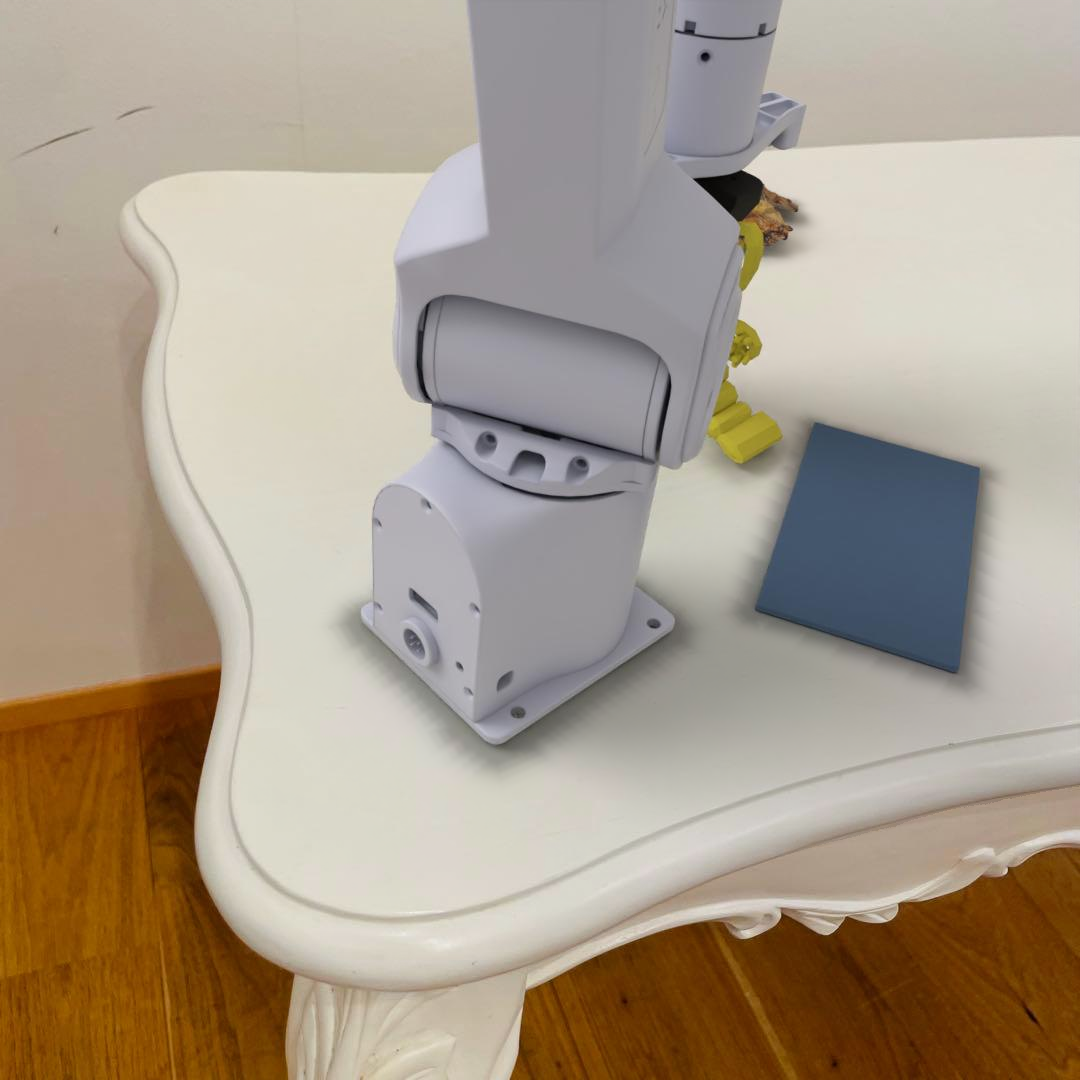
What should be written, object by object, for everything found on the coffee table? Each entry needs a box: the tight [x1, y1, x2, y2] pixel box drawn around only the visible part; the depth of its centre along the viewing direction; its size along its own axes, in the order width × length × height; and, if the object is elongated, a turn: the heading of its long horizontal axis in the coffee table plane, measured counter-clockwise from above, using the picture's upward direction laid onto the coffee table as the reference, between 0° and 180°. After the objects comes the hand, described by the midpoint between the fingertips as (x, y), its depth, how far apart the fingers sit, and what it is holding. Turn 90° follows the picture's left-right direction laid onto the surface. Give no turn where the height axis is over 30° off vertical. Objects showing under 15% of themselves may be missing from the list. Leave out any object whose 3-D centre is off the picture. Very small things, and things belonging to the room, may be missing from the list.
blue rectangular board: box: [754, 421, 981, 674], centre depth 48 cm, size 14×8×1 cm, turn 160°
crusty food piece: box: [738, 183, 799, 248], centre depth 70 cm, size 9×12×3 cm
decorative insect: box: [706, 221, 784, 465], centre depth 52 cm, size 13×3×10 cm
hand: (648, 322), depth 52 cm, fingers closed on decorative insect
